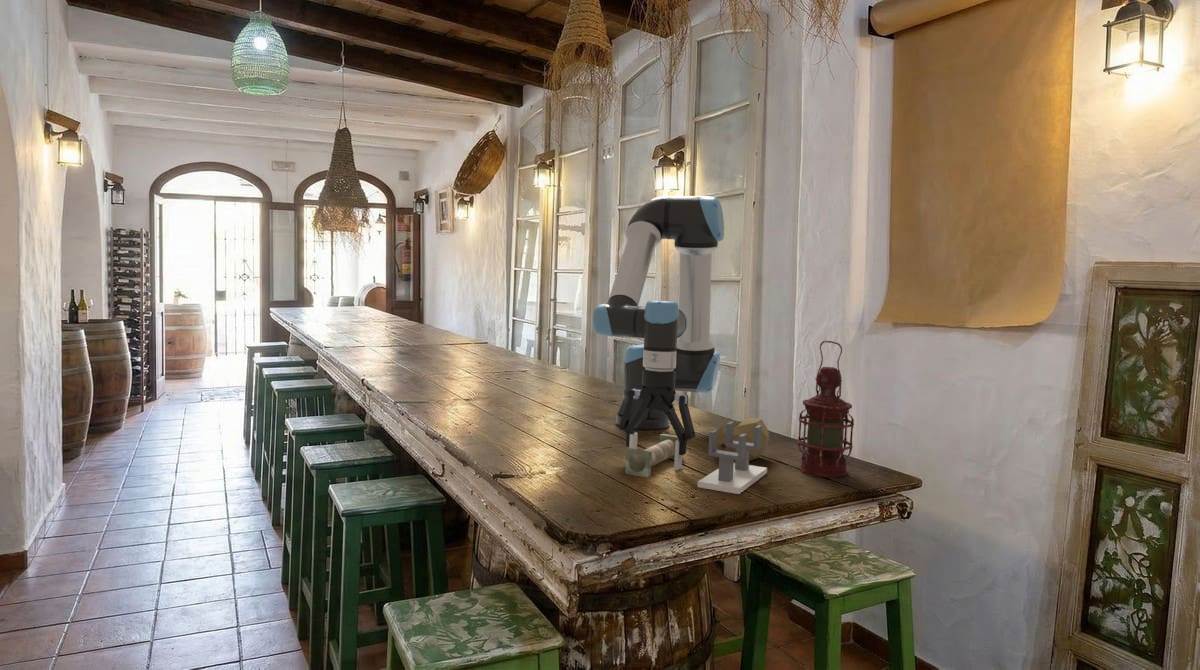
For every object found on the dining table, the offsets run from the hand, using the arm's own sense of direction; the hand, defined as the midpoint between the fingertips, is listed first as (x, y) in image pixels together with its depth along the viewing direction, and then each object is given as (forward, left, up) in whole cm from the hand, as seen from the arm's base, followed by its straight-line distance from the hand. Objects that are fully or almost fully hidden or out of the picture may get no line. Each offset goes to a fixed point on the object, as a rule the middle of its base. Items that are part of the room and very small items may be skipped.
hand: (654, 465), depth 182 cm
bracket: (+1, +19, 0) cm, 19 cm away
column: (0, 0, 0) cm, 0 cm away
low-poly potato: (-19, +14, 0) cm, 24 cm away
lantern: (-18, +34, 0) cm, 39 cm away
